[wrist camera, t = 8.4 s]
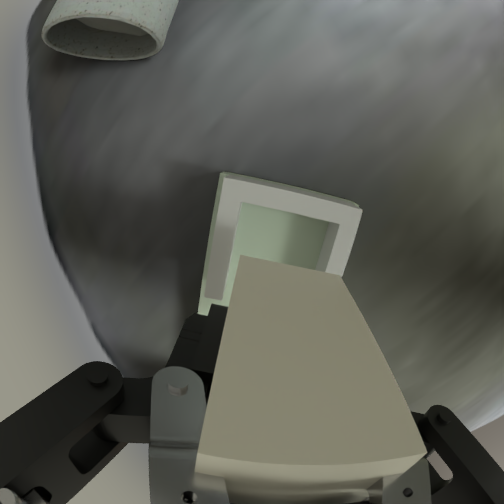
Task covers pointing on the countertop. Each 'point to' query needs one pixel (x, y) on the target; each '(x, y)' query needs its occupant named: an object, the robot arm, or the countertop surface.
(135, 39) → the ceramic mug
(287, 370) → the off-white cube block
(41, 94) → the countertop surface
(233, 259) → the rail
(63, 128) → the countertop surface
